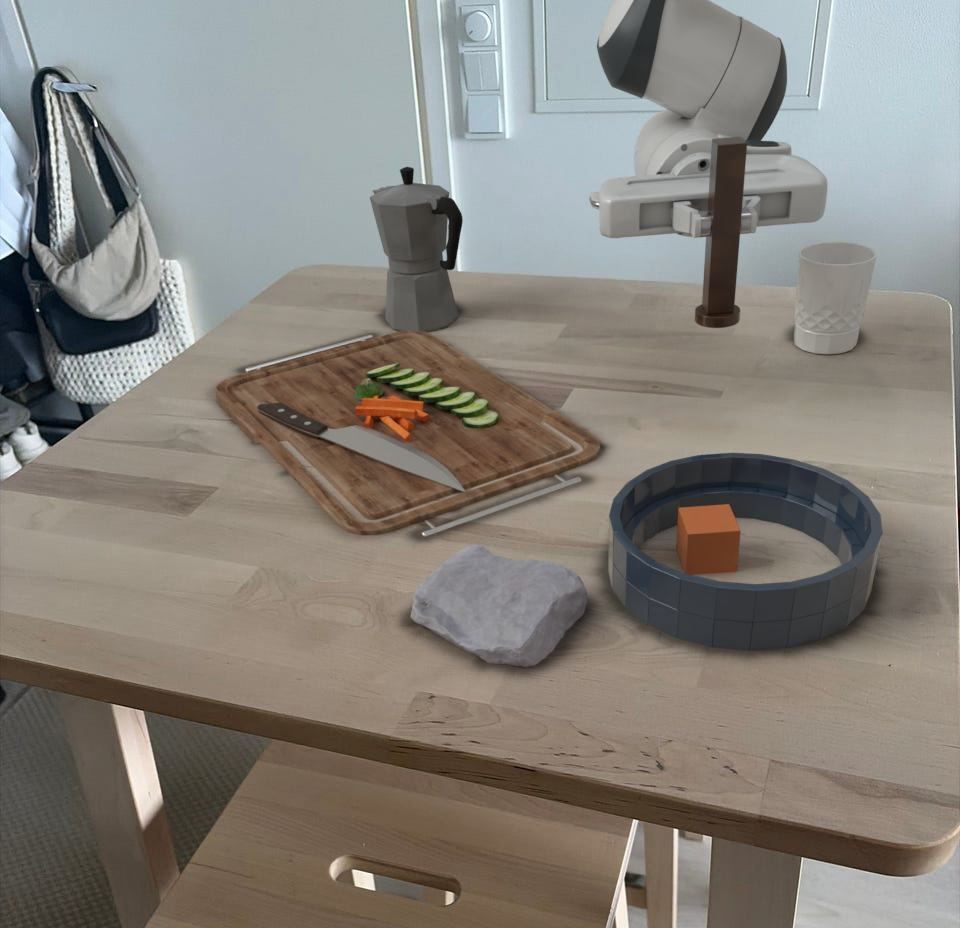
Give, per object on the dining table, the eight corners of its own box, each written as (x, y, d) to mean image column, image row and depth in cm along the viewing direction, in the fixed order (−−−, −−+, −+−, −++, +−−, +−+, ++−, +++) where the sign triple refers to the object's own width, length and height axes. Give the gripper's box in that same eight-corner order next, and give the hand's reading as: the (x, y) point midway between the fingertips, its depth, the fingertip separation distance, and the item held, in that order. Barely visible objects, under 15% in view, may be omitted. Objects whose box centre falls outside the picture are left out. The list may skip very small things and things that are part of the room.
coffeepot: (360, 319, 131) (339, 168, 120) (417, 298, 136) (402, 151, 125) (439, 348, 122) (424, 187, 111) (497, 324, 127) (488, 168, 116)
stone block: (538, 701, 73) (598, 605, 78) (527, 656, 70) (590, 559, 75) (402, 660, 79) (466, 572, 84) (385, 616, 75) (453, 528, 80)
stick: (734, 310, 95) (748, 133, 86) (744, 326, 92) (759, 144, 83) (690, 314, 95) (700, 137, 86) (699, 329, 92) (709, 148, 83)
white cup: (865, 357, 112) (881, 264, 106) (790, 357, 113) (802, 265, 107) (856, 330, 118) (871, 240, 112) (785, 330, 119) (796, 241, 113)
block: (725, 547, 83) (729, 503, 81) (736, 574, 80) (740, 530, 77) (675, 550, 83) (678, 507, 81) (684, 578, 80) (687, 534, 77)
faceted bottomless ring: (825, 508, 88) (835, 444, 84) (906, 649, 72) (923, 579, 69) (595, 524, 88) (595, 461, 85) (627, 668, 73) (629, 599, 69)
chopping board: (631, 471, 95) (631, 441, 93) (369, 565, 85) (364, 534, 84) (411, 331, 127) (408, 306, 125) (202, 388, 117) (196, 362, 115)
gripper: (586, 158, 97) (604, 197, 86) (804, 140, 96) (850, 176, 85) (587, 227, 101) (604, 273, 90) (797, 210, 100) (840, 254, 89)
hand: (726, 226), depth 87 cm, fingers closed on stick, 2 cm apart
